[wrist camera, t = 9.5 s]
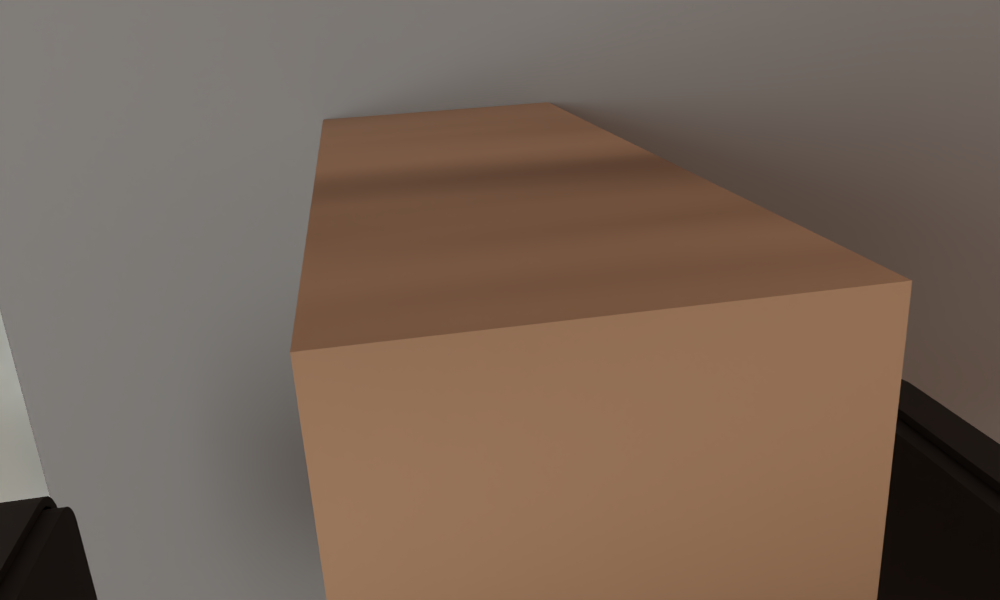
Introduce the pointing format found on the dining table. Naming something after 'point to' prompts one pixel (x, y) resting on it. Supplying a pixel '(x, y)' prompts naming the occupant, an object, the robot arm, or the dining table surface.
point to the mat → (408, 89)
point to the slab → (582, 373)
